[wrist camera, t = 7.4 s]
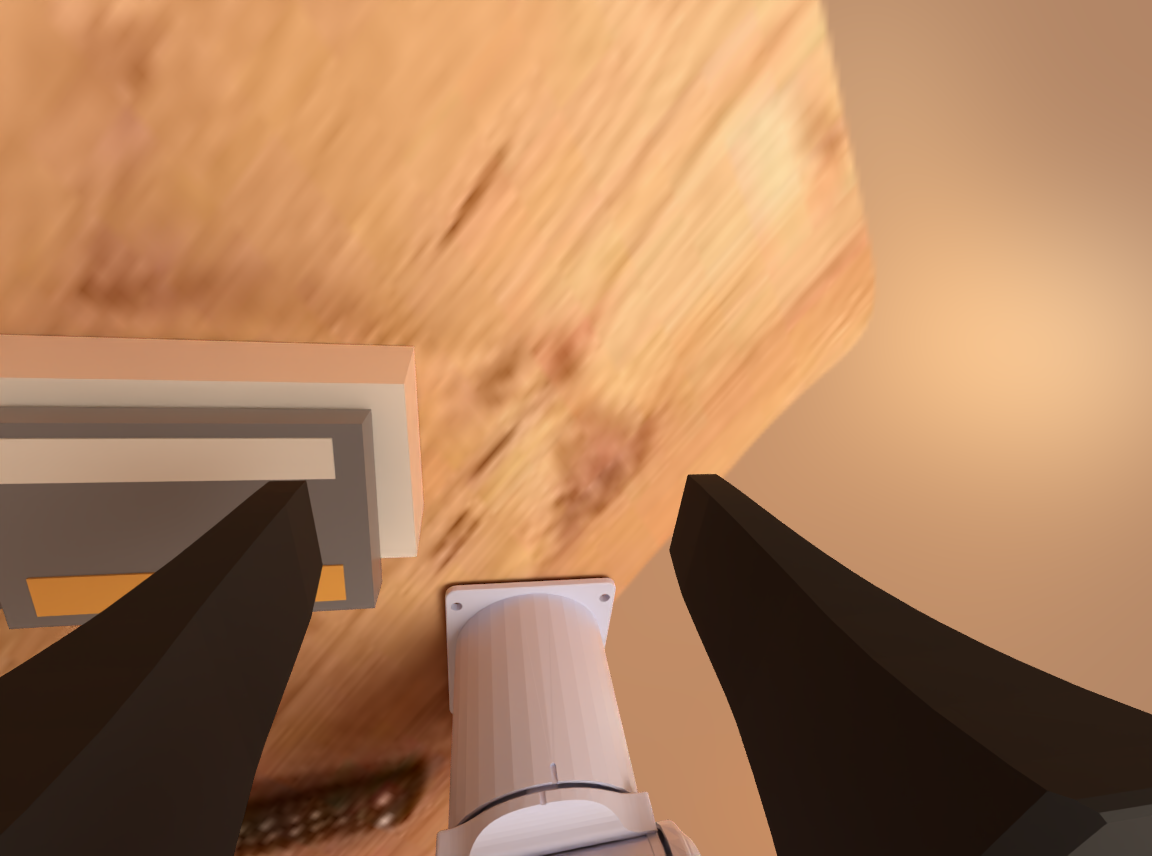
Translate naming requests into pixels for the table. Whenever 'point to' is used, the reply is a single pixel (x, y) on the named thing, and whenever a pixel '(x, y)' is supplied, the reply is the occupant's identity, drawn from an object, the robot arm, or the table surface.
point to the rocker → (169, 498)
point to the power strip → (240, 394)
